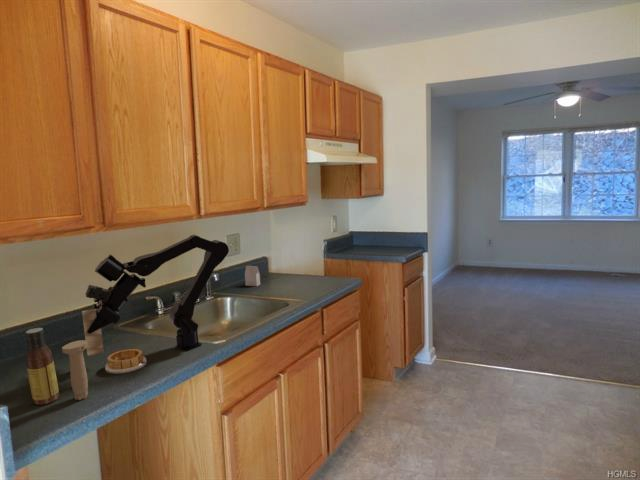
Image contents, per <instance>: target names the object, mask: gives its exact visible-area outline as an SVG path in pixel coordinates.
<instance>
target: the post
mask: <svg viewBox="0 0 640 480" xmlns="http://www.w3.org/2000/svg"><path fill="white" fill-rule="evenodd" d="M96 310H98V309H94V308H93V309H88V310H82V311H81V314H82V321H83V322H82V324H83V331H84V338H85V339H84V340H85V341H87V342H88V346H87V347H86V353H87V356H93V355H97V354H103V353H104V352H105V351H104V345H103V344H104V342H103V334H102V328H100V329H98V330H96V331H94V332H92V333H91V334H89V333H87V331H88V329H89V327H90V326H91V324H92V322H93V321H94V319H95V317H96Z"/></svg>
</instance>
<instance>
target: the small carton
mask: <svg viewBox="0 0 640 480" xmlns="http://www.w3.org/2000/svg"><path fill="white" fill-rule="evenodd" d="M244 271H245V272H244V281H245V286H246V287H247V286H248V287H258V286H261V274H260V270H259V268H258V265H257V266H256V265H255V266H253V265H246V266H245V270H244Z"/></svg>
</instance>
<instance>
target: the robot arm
mask: <svg viewBox="0 0 640 480" xmlns="http://www.w3.org/2000/svg"><path fill="white" fill-rule="evenodd" d="M196 248H198V249H200V250H203V251H205V252H204V255H203V262H202V264H201V265H200V268H198V271H197V272H196V275H195V276H194V278H193V279H192V282H191V283H190V285H189V287H188V289H187V291H186V293H185V295H184V296H183V298H182V299H181V300H180V301H177V300H174V302H173V305H172V307H171V308H170V309H169V310H168V311H169V314H168V315H169V321H170V322H171V323H172V324H173V325H174V326H175V327H176V328H177V329H178V330H176V336H175V338H176V345H175V346H174V347H175V348H176V349H180V350H184V351H190V350H192V349H194V348H197V347H200V346H201V345H202V342H200V341H199V336H198V335H199V334H198V331H199V330H198V328H199V324H198V323H197V322H196V321H195V320H194V319H192V318H193V316H194V312H195V306H196V304H197V302H198V300H199V297H200V296H201V294H202V292H203V291H204V289H205V287H206V285H207V283H208V282H209V280H210V278H211V276H212V274H213V273H214V270H215V269H216V268H217V267H218V266H219V265H220V264H221V263H222V262H223V261H224V260H225V259H226V257H227V256H228V254H229V251H230V249H229V246H228V244H227V243H226V242H223V241H220V240H218V239H214V240H212V241H211V240H209V239H206V238H203V237H201V236H199V235H196V234H191V235H190V236H189V237H186V238H184V239H183V240H180V241H178V242H176V243H173V244H171V245H169V246H168V247H165V248H163V249H160V250H159V251H155V252H151V253H147V254H146V253H145V254H143V255H139V256H137V257H135V258H134V259H133V260H132V261H128V262H124V263H122V262H121V261H119V260H118V259H117V258H115V257H114V255H112V254H109V255H107V257H105V258H104V259H103V260H101V261H100V262H99V264H98V265H97V266H96V267H95V270H94V272H95V273H97V274H98V275H99V276H101V277H102V278H104V279H105V280H107V281H108V282H110V283H111V282H115V283H114V285H113V286H112V285H111V286H109V287H108V288H103V287H101V286H97V285H93V284H88V286H87V289H86V292H85V293H84V294H85V297H86V298H89V299H93V302H94V303H93V309H98V310H96V317H95V319H94V321H93V322H92V324H91V326H90V327H89V329H88V331H87V333H89V334H91V333H92V332H94V331H96V330H98V329H100V328H101V329H102V328H104V327H106V326H108V325H110V324H115V325H117V323H118V322H119V321H120V319H121V317H120V313H119V311H120V308H121V307H122V306H123V304H124V303H127V302H128V301H129V298H130V296H131V295H132V293H134V291H135V290H136V289H137V288H138V286H142V288H146V287H147V286H146V278H145V277H147V276H149V275H151V274H153V273H154V272H155V271H157V270H158V269H159V268H160V267H161V266H162V265H165V263H167V262H169V261H172V260H173V259H176V258H177V257H179V256H182V255H183V254H185V253H188V252H189V251H192V250H194V249H196ZM129 273H130V274H129ZM136 274H137V275H136ZM140 277H142V278H140Z"/></svg>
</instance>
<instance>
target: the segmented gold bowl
mask: <svg viewBox="0 0 640 480" xmlns="http://www.w3.org/2000/svg"><path fill="white" fill-rule="evenodd" d="M147 362H148V361H147V358H146V357H145V356H144V355H143V351H142V350H141V349H137V348H132V349H131V348H129V349H123V350H118V351H115V352H113V353H111V354H110V355H109V356H107V363H106V364H105V365H104V370H105V372H106V373H108V374H111V375H122V374H128V373H132V372H135V371H138V370H140V369H143V367H145V366H146V365H147Z"/></svg>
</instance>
